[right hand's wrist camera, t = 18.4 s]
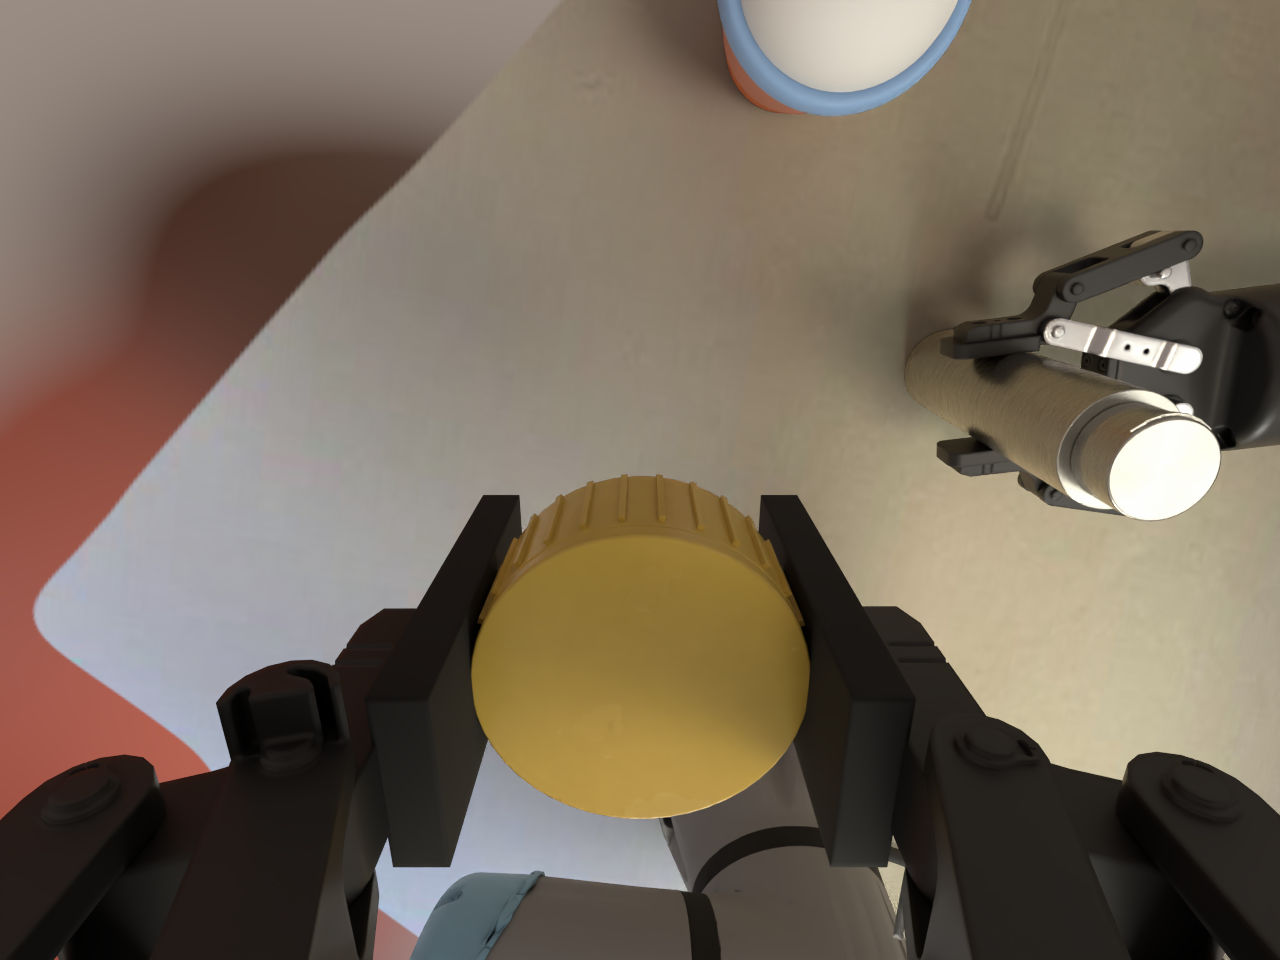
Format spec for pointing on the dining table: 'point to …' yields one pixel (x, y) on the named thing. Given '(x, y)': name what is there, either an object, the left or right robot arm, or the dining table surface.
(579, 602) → the lid
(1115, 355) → the left robot arm
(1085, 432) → the metal bottle
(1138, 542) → the dining table surface
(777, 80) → the cup with straw
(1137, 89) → the dining table surface
